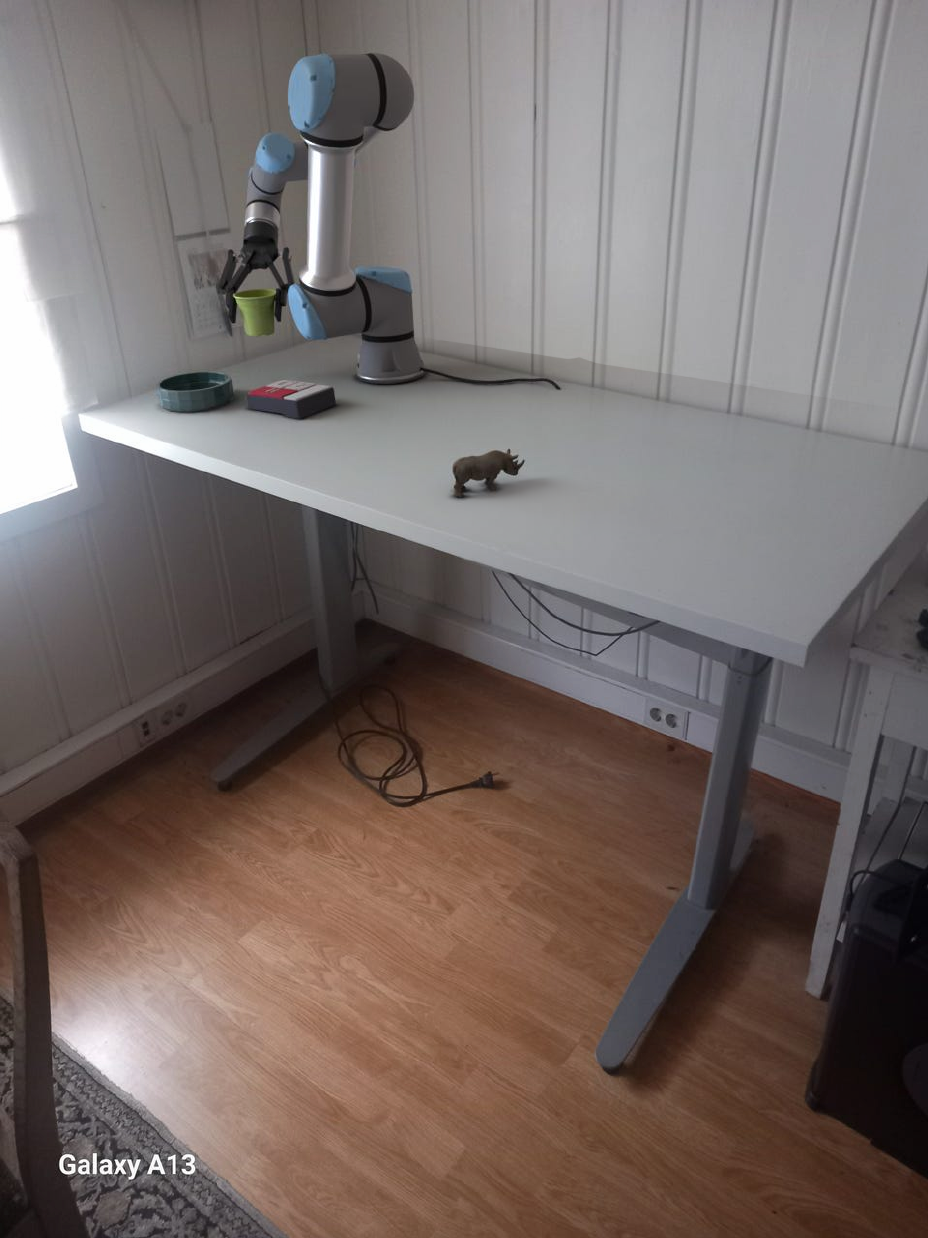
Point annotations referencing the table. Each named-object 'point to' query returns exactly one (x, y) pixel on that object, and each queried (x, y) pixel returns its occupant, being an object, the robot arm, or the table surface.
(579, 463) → the table surface
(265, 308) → the plant pot
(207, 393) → the bowl
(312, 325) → the robot arm
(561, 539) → the table surface
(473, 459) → the rhino figurine
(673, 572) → the table surface
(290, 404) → the calculator
